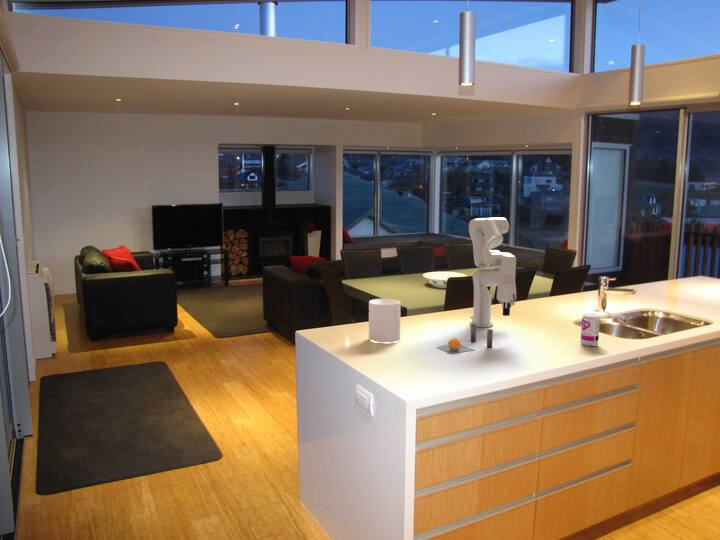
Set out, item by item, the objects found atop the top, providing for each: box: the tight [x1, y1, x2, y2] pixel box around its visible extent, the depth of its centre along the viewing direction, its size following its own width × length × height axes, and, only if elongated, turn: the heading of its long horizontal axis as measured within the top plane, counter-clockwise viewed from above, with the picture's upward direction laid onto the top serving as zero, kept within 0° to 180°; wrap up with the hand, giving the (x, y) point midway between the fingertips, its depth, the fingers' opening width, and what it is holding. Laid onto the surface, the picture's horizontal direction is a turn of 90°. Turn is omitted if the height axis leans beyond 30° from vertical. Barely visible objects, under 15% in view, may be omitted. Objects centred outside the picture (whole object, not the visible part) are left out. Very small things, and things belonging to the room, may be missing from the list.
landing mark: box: [436, 343, 475, 355], centre depth 306 cm, size 14×14×1 cm
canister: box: [368, 298, 402, 342], centre depth 320 cm, size 16×16×20 cm
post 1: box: [470, 324, 477, 343], centre depth 318 cm, size 3×3×9 cm
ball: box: [447, 337, 462, 351], centre depth 302 cm, size 6×6×6 cm
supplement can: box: [580, 313, 601, 347], centre depth 312 cm, size 8×8×15 cm
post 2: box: [486, 328, 494, 349], centre depth 306 cm, size 3×3×9 cm
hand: (506, 315), depth 317 cm, fingers closed
